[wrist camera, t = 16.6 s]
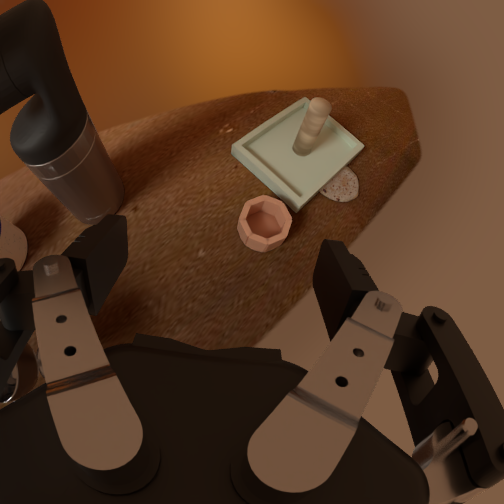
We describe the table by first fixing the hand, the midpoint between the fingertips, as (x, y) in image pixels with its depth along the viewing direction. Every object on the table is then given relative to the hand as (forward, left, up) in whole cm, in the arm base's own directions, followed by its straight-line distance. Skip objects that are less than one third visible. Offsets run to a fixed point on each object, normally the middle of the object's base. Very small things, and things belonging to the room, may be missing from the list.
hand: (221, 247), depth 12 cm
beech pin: (-18, +22, -28) cm, 40 cm away
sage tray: (-18, +22, -29) cm, 40 cm away
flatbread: (-11, +26, -29) cm, 40 cm away
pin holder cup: (-8, +10, -29) cm, 31 cm away
